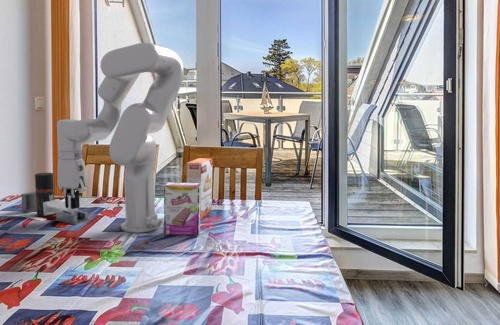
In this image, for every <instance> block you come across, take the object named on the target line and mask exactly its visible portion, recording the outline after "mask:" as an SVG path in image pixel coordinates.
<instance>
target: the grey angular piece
mask: <svg viewBox="0 0 500 325" xmlns="http://www.w3.org/2000/svg"><path fill="white" fill-rule="evenodd" d="M71 198H72V192H70V193H67V201H68V208H66V207H65V206H61V201H60V200H61V199H59V198H54V200H50V201H46V202H43V209H44V215H50V214H54V213H55V214H56V212H64V213H69V214H73V215H77V218H78V210H79V208H76V209H71ZM55 214H54V215H55Z"/></svg>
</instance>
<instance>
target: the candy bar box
mask: <svg viewBox="0 0 500 325" xmlns="http://www.w3.org/2000/svg"><path fill="white" fill-rule="evenodd" d="M163 190H164V193H163V196H164V198H163V201H164V202H163V203H164V204H163V208H164V209H163V216H164V217H163V235H164V236H180V235H186V237H187V236H190V237H193V235H200V233H201V220H200V197H201V184H200V183H187V182H166V183H165V184H164V185H163Z"/></svg>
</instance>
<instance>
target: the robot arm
mask: <svg viewBox="0 0 500 325" xmlns="http://www.w3.org/2000/svg"><path fill="white" fill-rule="evenodd" d="M100 70H101V72H102V74H103V75H104V78H103V80H102V81H101V83H100V85H99V86H98V89H97V91H96V92H97V95H98V96H99V97H100V99H101V100H103V106H102V109H101V110H100V112H99V114H98V116H97V117H96V118H92V119H91V118H89V119H81V120H79V119H69V118H68V119H66V118H65V119H59V120H58V121H57V124H56V129H57V132H56V133H57V147H58V148H57V155H58V160H57V174H56V177H57V179H56V180H57V185H58V188H59V190H61V191H62V193H63V197H64V202H65V203H64V205H65V206H64V207H65V208H68V201H67V193H70V192H72V198H71V209H76V208H78V209H80V207H81V206H80V197H81V194H83V193H85V192H86V188H87V187H88V177H87V176H88V175H87V168H86V164H85V161H84V159H83V144H84V143H85V144H86V143H92V142H98V141H103V140H104V141H105V140H106V139H107V138H109V136H110V135H111V134H112V132H113V131H114V132H113V135H112V137H111V139H110V144H109V147H108V148H109V149H108V151H109V156H110V158H111V161H112V162H113V163H115V164H116V165H117V166H121V167H125V169H124V170H125V171H124V204H125V206H124V207H125V212H124V213H125V221H124V222H122V223H121V224H120V229H121V230H122V231H124V232H126V233H133V234H134V233H135V234H136V233H137V234H139V233H148V232H152V231H155V230H158V229H159V228H160V227H162V224H164V219H159V218H158V214H157V213H156V210H155V209H156V207H155V206H156V205H155V204H156V203H155V197H156V196H155V195H156V193H155V192H156V190H155V180H156V179H155V169H156V168H155V166H156V159H157V154H158V153H157V150H158V149H157V144H156V140H155V139H154V138H153V137H152V136H151V135H149V134H153V133H154V134H155V133H158V132H159V131H161V130H162V129H163V128H164V126H165V124H166V122H167V119H168V117H169V114H170V112H171V110H172V107H173V105H174V102H175V99H176V98H177V95H178V93H179V91H180V89H181V87H182V83H183V81H184V75H185V69H184V65H183V62H182V60H181V58H180V56H179V55H178V54H177V53H176V52H175V51H174V50H172V49H171V48H169V47H166V46H163V45H159V44H156V43H152V42H138V43H136V44H132V45H131V44H130V45H128V46H124V47H120V48H115V49H113V50H110V51H108V52H106V53H105V54H104V55H103V56H102V58H101V61H100ZM143 73H150V74H151V73H152V74H156V75H157V76H156V78H155V80H153V82H152V83H151V85H150V87H149V88H148V92H147V93H146V96H145V98H144V100H143V101H142V102H137V103H132V104H130V105H128V107H126V109H124V111H123V112H122V105H123V103H124V102H123V101H124V100H125V99H126V97H127V95H128V94H129V92H130V91H131V89H132V87H133V86H134V84H135V83H136V81H137V79H138V78H139V76H140V75H141V74H143ZM114 129H115V130H114ZM82 143H83V144H82Z"/></svg>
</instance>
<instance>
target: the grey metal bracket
mask: <svg viewBox="0 0 500 325" xmlns="http://www.w3.org/2000/svg"><path fill="white" fill-rule="evenodd" d="M55 214H56V219H55V221H58V222H61V223H62V222H63V223H66V224H71V225H75V226H76V225H79V224H82V223H86V222H89V221H91V220H92V218H89V212H88V211H84V210H79V209H78V218H77V215H73V214H69V213H64V212H56V213H55Z"/></svg>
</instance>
